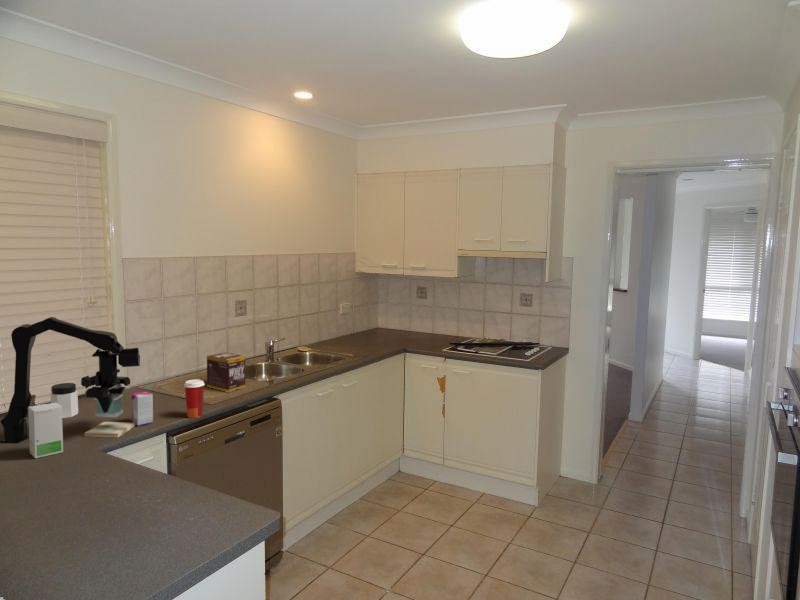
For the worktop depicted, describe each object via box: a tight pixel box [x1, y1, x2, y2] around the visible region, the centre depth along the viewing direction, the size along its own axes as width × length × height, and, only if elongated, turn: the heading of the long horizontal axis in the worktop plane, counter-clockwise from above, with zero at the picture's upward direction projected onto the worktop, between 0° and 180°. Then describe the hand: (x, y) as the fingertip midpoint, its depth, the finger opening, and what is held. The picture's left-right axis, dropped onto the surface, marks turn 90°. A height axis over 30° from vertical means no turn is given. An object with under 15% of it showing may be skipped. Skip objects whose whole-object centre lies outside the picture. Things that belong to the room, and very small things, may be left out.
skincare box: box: [28, 402, 64, 459], centre depth 175 cm, size 8×7×16 cm
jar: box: [50, 382, 79, 419], centre depth 211 cm, size 9×8×12 cm
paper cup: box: [183, 379, 206, 419], centre depth 214 cm, size 8×8×14 cm
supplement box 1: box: [131, 391, 154, 427], centre depth 204 cm, size 6×6×12 cm
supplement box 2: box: [206, 351, 247, 392], centre depth 254 cm, size 10×15×16 cm
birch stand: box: [83, 421, 136, 438], centre depth 196 cm, size 12×12×1 cm
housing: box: [94, 393, 125, 418], centre depth 195 cm, size 8×5×7 cm, turn 88°
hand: (109, 409), depth 195 cm, fingers closed on housing, 5 cm apart
